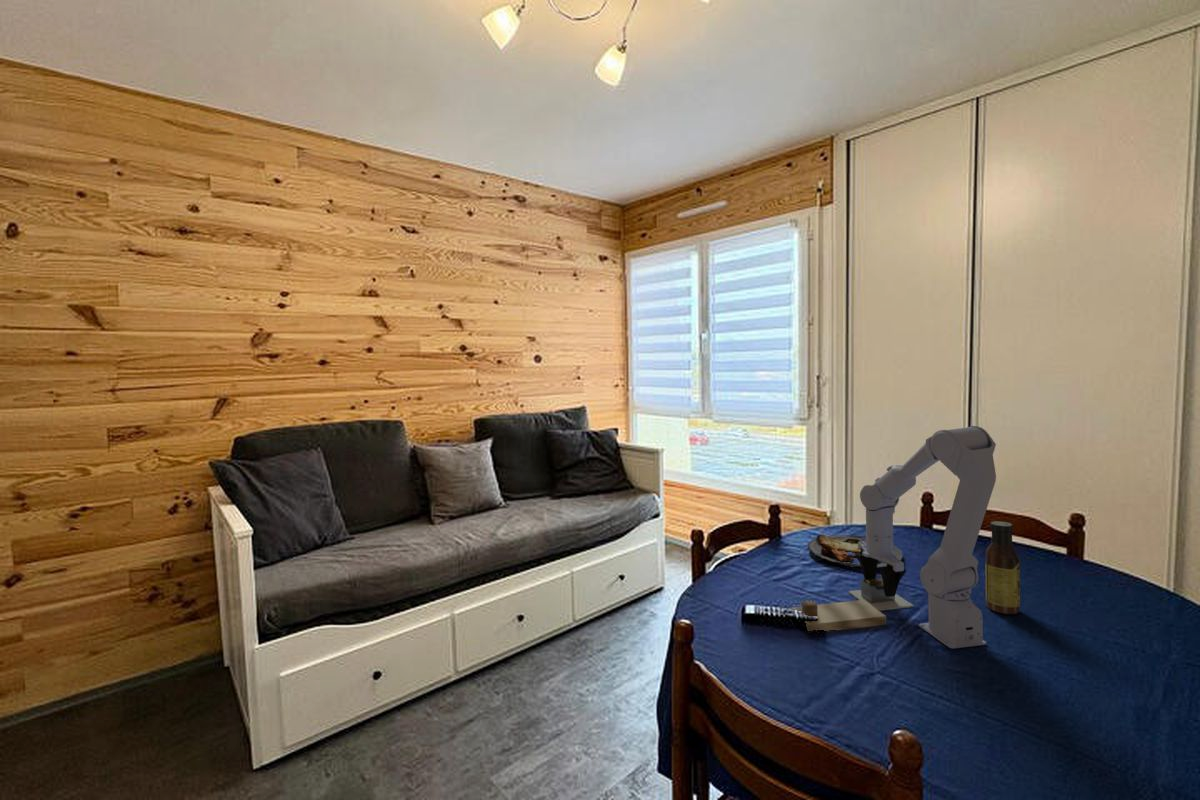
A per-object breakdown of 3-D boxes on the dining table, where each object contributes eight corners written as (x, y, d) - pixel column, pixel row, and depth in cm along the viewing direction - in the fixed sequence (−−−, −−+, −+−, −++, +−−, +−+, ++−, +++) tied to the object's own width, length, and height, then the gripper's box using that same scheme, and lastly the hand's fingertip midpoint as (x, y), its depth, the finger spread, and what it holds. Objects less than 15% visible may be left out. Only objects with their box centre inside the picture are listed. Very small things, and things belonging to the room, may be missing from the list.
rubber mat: (913, 606, 125) (913, 605, 125) (873, 611, 124) (873, 609, 124) (885, 588, 135) (885, 587, 135) (848, 592, 134) (848, 591, 134)
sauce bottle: (1025, 616, 118) (1027, 528, 116) (994, 615, 119) (995, 528, 118) (1009, 602, 125) (1010, 519, 123) (979, 601, 126) (980, 519, 124)
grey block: (883, 593, 132) (883, 575, 131) (894, 600, 128) (894, 581, 127) (861, 595, 131) (860, 577, 130) (871, 603, 127) (871, 584, 127)
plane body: (864, 607, 126) (863, 589, 125) (886, 624, 118) (885, 605, 117) (791, 615, 124) (790, 597, 123) (808, 633, 116) (807, 613, 115)
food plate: (803, 563, 153) (803, 551, 152) (812, 537, 173) (812, 527, 173) (903, 578, 141) (904, 566, 141) (900, 549, 162) (901, 538, 161)
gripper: (846, 525, 135) (847, 578, 136) (883, 545, 120) (883, 604, 121) (872, 523, 135) (873, 575, 137) (912, 543, 121) (912, 600, 122)
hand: (879, 588), depth 129 cm, fingers open, 7 cm apart
